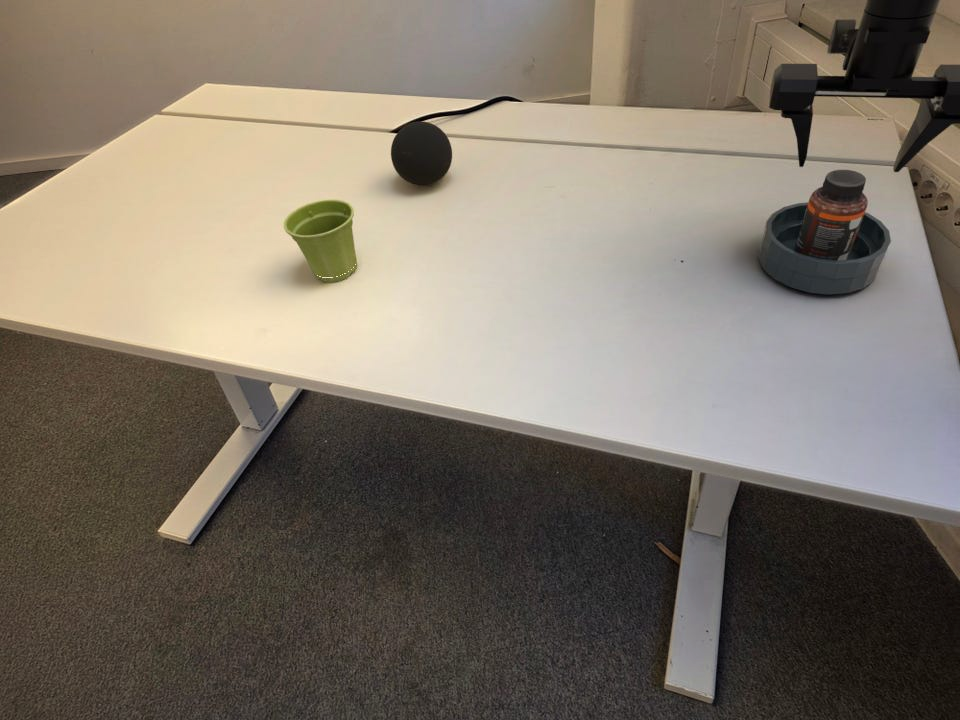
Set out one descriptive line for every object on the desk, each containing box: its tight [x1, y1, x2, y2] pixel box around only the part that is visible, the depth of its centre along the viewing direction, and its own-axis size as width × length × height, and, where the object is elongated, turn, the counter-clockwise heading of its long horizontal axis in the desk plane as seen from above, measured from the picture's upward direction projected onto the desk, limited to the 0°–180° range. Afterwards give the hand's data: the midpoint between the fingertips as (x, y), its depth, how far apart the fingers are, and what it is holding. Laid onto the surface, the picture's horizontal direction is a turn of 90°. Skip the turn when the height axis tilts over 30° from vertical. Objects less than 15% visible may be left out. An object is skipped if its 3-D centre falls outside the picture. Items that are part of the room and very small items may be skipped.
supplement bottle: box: [794, 169, 869, 261], centre depth 71 cm, size 6×6×11 cm
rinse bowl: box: [758, 201, 892, 295], centre depth 74 cm, size 13×13×5 cm
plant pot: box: [283, 199, 358, 283], centre depth 84 cm, size 9×9×9 cm
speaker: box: [390, 120, 453, 187], centre depth 99 cm, size 10×10×10 cm
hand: (847, 167), depth 66 cm, fingers open, 9 cm apart
